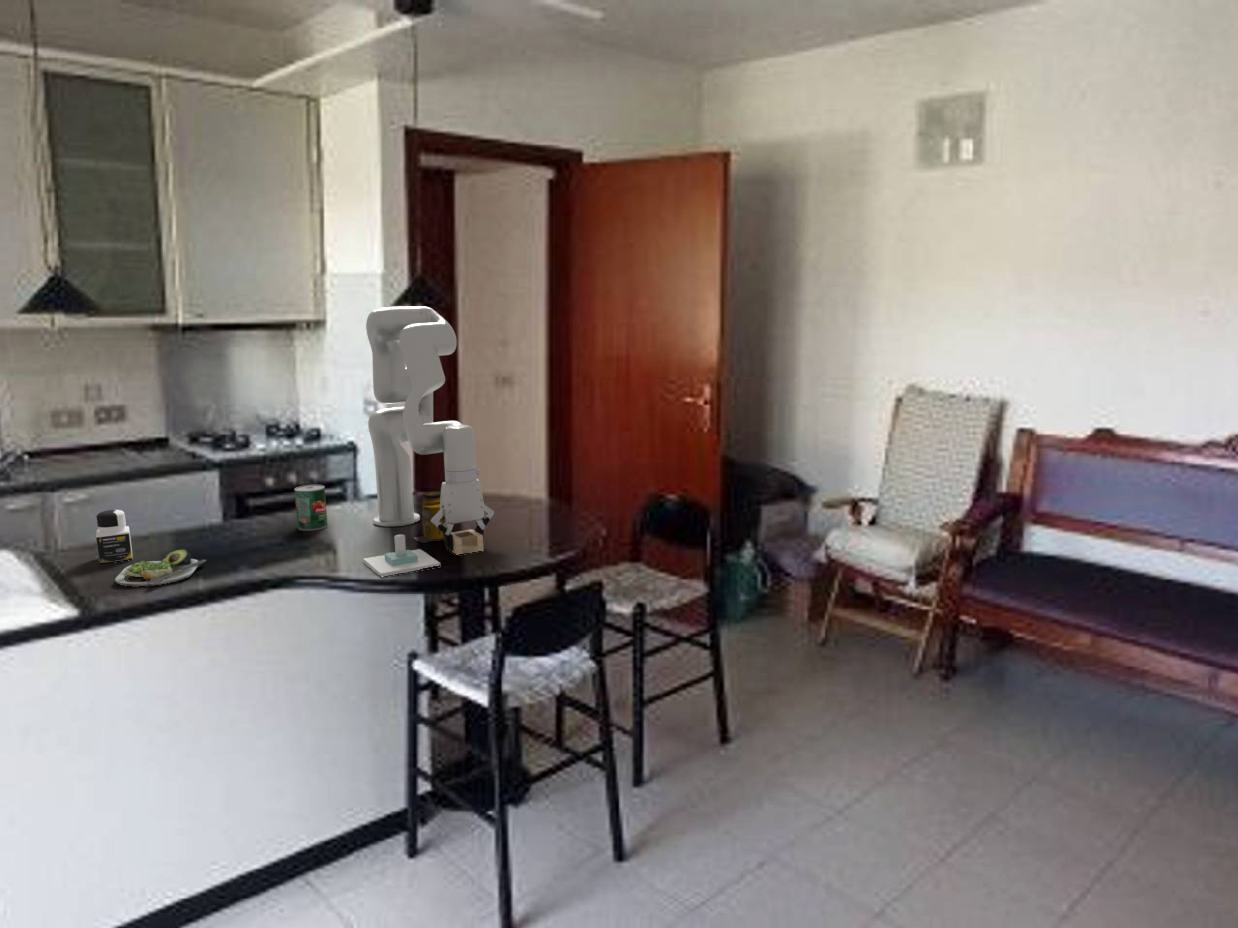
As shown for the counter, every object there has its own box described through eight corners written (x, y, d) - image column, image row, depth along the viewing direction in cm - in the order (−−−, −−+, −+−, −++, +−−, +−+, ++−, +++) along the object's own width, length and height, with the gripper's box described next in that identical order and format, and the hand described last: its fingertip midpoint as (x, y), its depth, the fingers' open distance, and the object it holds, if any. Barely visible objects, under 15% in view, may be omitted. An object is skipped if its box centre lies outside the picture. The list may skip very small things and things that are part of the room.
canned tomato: (327, 529, 254) (323, 489, 252) (296, 531, 252) (292, 491, 250) (328, 522, 262) (325, 483, 260) (299, 524, 260) (295, 485, 258)
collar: (446, 549, 232) (445, 533, 232) (472, 544, 236) (472, 529, 235) (456, 555, 226) (455, 539, 226) (483, 551, 230) (482, 535, 229)
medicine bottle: (99, 564, 226) (92, 516, 224) (100, 557, 232) (93, 510, 230) (132, 560, 229) (126, 512, 227) (132, 553, 235) (126, 506, 233)
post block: (363, 562, 223) (361, 534, 221) (420, 552, 230) (418, 525, 228) (381, 577, 211) (378, 547, 209) (440, 566, 218) (438, 537, 216)
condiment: (453, 539, 242) (450, 493, 239) (422, 544, 237) (419, 498, 235) (442, 533, 248) (439, 488, 245) (411, 538, 243) (408, 493, 241)
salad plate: (190, 588, 207) (188, 568, 207) (103, 595, 204) (100, 575, 203) (210, 563, 226) (208, 545, 225) (130, 569, 223) (128, 550, 222)
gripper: (487, 469, 235) (491, 537, 239) (421, 477, 226) (425, 549, 230) (500, 474, 229) (503, 544, 232) (431, 483, 220) (436, 556, 224)
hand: (464, 546), depth 231 cm, fingers closed on collar, 7 cm apart
